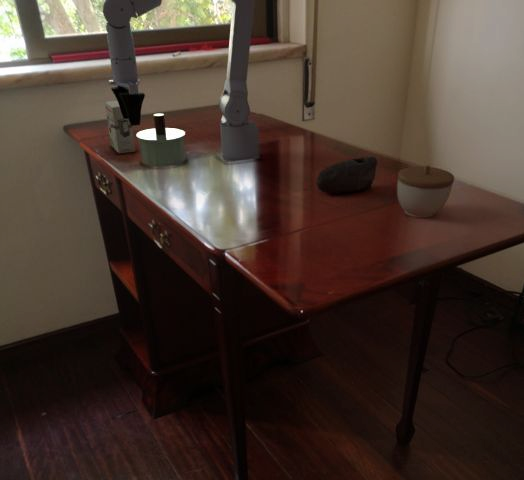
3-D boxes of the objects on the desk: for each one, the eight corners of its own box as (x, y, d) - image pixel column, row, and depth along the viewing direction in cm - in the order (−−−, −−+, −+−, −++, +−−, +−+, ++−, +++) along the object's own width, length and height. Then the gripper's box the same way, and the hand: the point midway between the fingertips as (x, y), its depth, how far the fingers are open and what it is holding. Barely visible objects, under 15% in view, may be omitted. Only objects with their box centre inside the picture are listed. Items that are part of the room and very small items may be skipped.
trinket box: (437, 226, 103) (447, 178, 97) (385, 215, 107) (391, 168, 102) (452, 209, 110) (462, 163, 105) (403, 199, 115) (410, 155, 109)
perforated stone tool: (320, 199, 115) (322, 166, 111) (310, 191, 119) (312, 159, 115) (381, 191, 119) (385, 159, 115) (369, 184, 123) (373, 153, 119)
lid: (177, 130, 140) (175, 107, 137) (192, 141, 131) (190, 117, 128) (131, 135, 136) (128, 112, 133) (143, 147, 127) (140, 122, 124)
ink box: (110, 146, 149) (103, 101, 142) (127, 144, 151) (121, 99, 144) (118, 154, 143) (111, 107, 136) (136, 151, 145) (130, 105, 138)
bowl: (178, 153, 143) (176, 128, 140) (191, 165, 135) (189, 138, 131) (137, 158, 139) (133, 133, 136) (148, 170, 131) (144, 143, 127)
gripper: (99, 55, 125) (108, 117, 133) (112, 63, 114) (121, 129, 122) (128, 54, 127) (136, 114, 135) (144, 61, 116) (151, 126, 124)
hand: (131, 121), depth 129 cm, fingers open, 7 cm apart
